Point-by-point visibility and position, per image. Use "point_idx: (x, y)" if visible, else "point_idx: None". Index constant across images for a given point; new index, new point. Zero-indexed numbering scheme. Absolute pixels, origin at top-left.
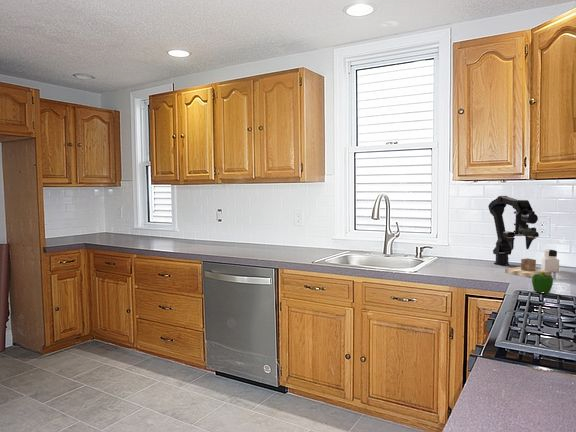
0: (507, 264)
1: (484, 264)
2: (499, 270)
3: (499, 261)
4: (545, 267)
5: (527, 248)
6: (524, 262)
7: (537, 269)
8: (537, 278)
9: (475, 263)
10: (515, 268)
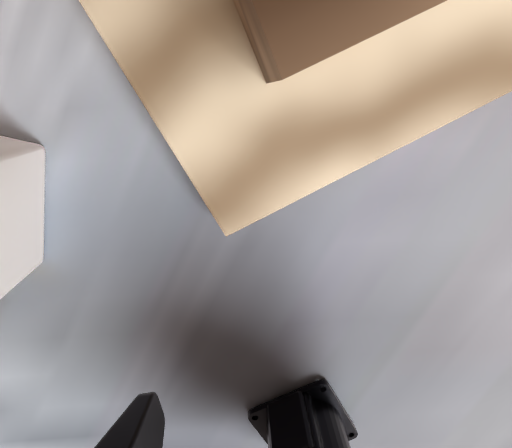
0: (271, 402)
1: (436, 408)
2: (482, 185)
3: (340, 426)
4: (12, 151)
5: (153, 410)
6: None
7: (150, 55)
8: None
9: (479, 433)
10: (391, 112)
